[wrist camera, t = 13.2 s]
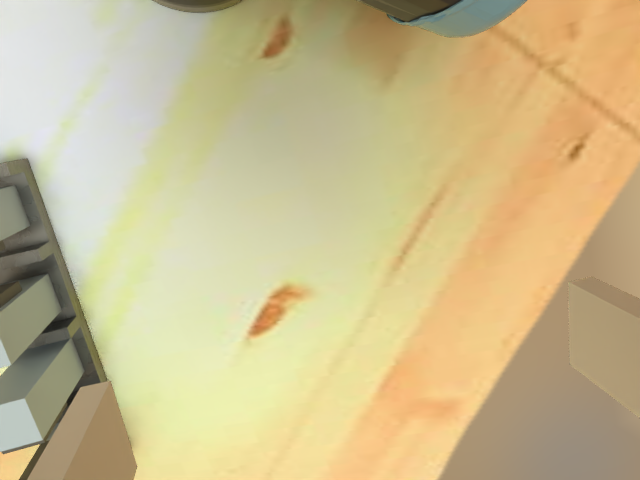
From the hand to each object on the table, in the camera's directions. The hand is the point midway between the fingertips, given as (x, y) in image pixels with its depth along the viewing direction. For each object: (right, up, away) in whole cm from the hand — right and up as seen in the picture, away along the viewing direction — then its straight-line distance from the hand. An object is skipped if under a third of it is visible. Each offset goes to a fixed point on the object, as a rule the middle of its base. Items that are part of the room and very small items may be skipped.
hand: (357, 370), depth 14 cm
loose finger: (-25, -7, +30) cm, 40 cm away
